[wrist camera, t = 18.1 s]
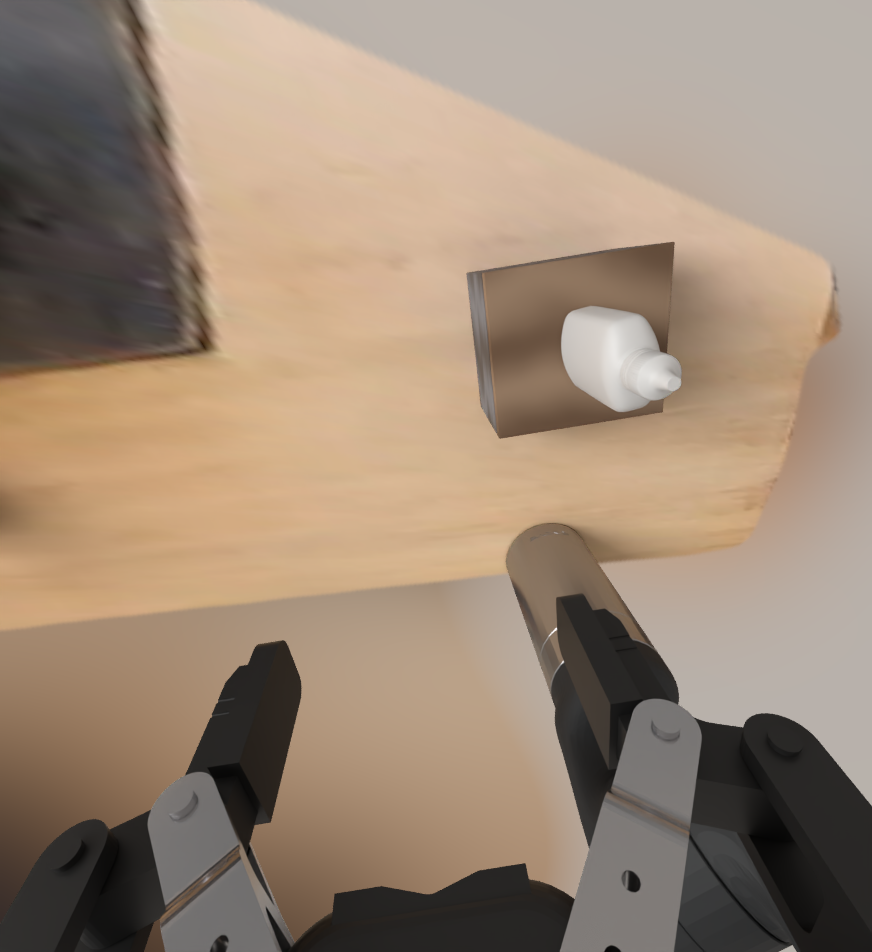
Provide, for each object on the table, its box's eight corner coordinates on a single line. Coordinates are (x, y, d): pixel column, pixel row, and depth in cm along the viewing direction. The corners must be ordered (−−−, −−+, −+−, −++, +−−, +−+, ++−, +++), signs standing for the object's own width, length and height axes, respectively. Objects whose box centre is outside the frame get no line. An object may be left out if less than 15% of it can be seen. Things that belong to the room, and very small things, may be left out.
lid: (656, 408, 36) (662, 412, 35) (497, 434, 36) (499, 438, 35) (666, 242, 31) (674, 241, 30) (481, 272, 31) (484, 272, 30)
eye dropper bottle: (626, 315, 32) (742, 337, 21) (595, 390, 34) (686, 446, 23) (570, 298, 31) (660, 312, 20) (542, 377, 33) (610, 427, 22)
